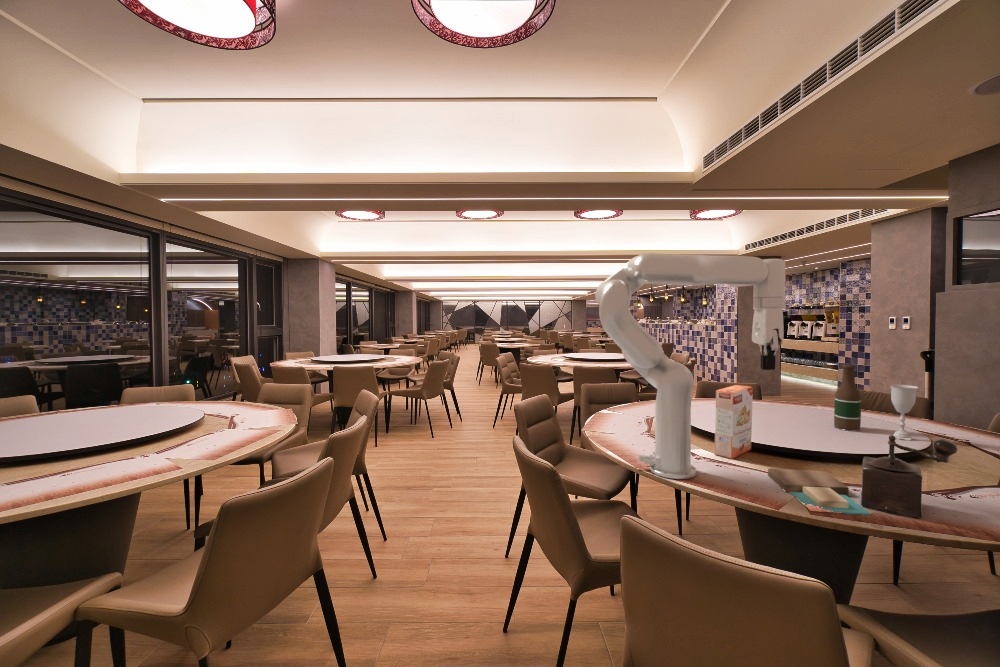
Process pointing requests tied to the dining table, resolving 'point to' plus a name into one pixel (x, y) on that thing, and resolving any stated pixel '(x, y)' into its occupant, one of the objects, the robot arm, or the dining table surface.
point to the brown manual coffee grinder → (898, 479)
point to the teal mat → (852, 508)
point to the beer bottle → (847, 402)
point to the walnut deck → (806, 480)
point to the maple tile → (825, 497)
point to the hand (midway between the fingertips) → (767, 369)
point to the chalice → (903, 404)
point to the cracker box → (733, 421)
